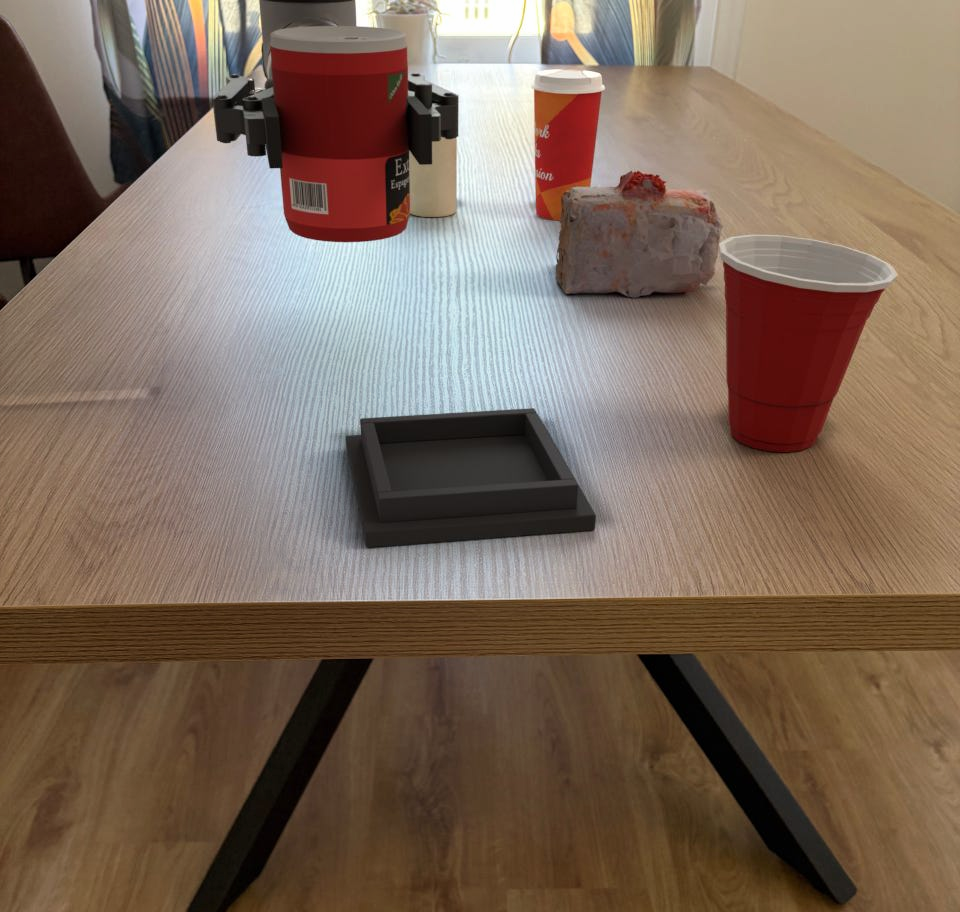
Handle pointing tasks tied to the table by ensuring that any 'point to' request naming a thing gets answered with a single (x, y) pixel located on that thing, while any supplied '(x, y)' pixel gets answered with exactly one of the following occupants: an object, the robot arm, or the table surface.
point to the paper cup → (564, 134)
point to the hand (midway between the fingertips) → (350, 141)
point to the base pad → (462, 478)
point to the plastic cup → (792, 332)
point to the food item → (637, 238)
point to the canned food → (343, 131)
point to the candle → (435, 181)
